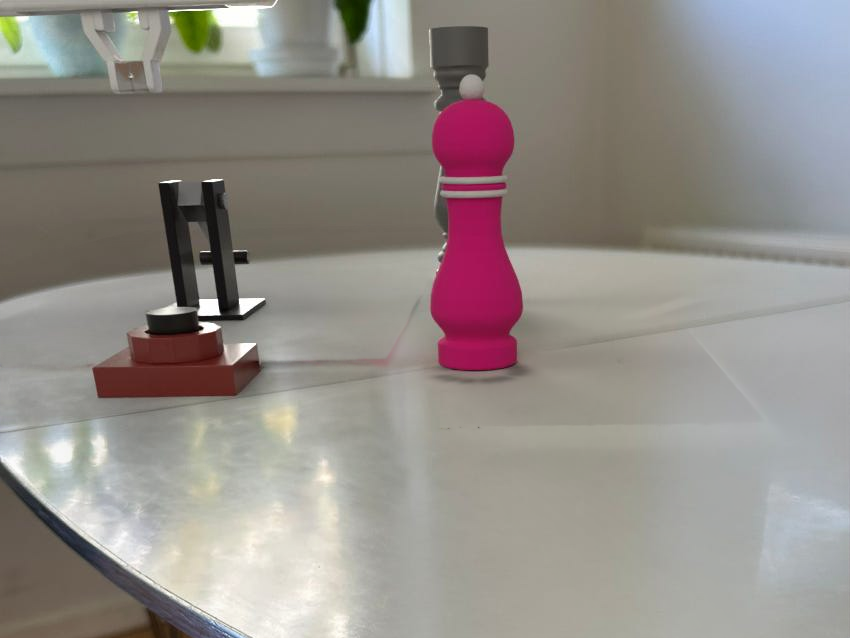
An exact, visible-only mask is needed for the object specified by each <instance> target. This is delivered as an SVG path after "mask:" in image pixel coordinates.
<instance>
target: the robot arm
mask: <svg viewBox="0 0 850 638" xmlns="http://www.w3.org/2000/svg"><path fill="white" fill-rule="evenodd" d="M277 1H278V0H0V18H11V17H13V18H15V17H39V16H40V17H42V16H64V15H65V16H68V15H69V16H71V15H80V21H81V25H82V27H81V28H82V31H83V34H84V35H85V36H86V37H87V39H88V40H89V42H90V43H91V45H92V46H93V47H94V49H95V50H96V52H97V53H98V55H99V56H100V57H101V59H102V60H103V62H104V63H106V67H107V72H108V79H109V84H110V89H111V92H112V93H113V94H118V95H123V94H124V95H125V94H126V95H127V94H154V93H156V94H158V93H162V92H163V80H162V74H161V67H160V62H162V59H163V57H164V54H165V51H166V48H167V45H168V42H169V40H170V37H171V34H172V26H171V18H170V12H181V11H211V10H237V9H242V10H243V9H267V8H268V9H269V8H273V7H274V6H275V4H277ZM124 13H127V14H128V13H137V18H138V24H139V27H140V29H142V30H144V31H147V32H148V34H147V36H146V40H145V43H144V47H143V50H142V54H141V57H140V60H129V61H127V60H124V58H123V56H122V55H121V54H120V51H119V50H118V49H117V47H116V45H115V44H114V43H113V41H112V40H111V38H110V36H109V34H115V33H116V25H115V19H114V14H124Z"/></svg>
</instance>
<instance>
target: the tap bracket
mask: <svg viewBox="0 0 850 638" xmlns="http://www.w3.org/2000/svg"><path fill="white" fill-rule="evenodd" d="M179 182H183V180H181V179H180V180H179V179H178V180H177V179H176V180H174V179H173V180H168V181H160V182H158V183H157V185H158V193H159V197H160V206H161V210H162V216H163V217H162V218H163V222H164V229H165V234H166V236H165V237H166V243H167V249H168V255H169V262H170V268H171V269H170V270H171V276H172V281H173V287H174V289H173V290H174V295H175V302H173V303H171V304H170V305H168V306H165V308H167V307H192V308H196V309H197V314H198V321H199V322H226V321H231V322H232V321H236V322H237V321H238V322H239V321H244V320H247V318H249V317H250V316H251V315H253V314H254V313H256V312H257V311H258V310H260V309H261V308H262V307H263V306H265V305H266V304H267V300H266V298H240V295H239V288H238V279H237V273H236V272H237V271H236V264H235V263H234V255H233V251H234V248H233V240H232V234H231V233H232V232H231V226H230V225H231V224H230V217H229V216H230V215H229V210H228V208H229V201H228V196H227V193H226V186H225V180H224V179H223V178H221V179H219V178H218V179H216V178H215V179H209V180H204V181H202V182H201V183H202V191H203V198H204V205H205V213H206V220H207V227H208V235H209V242H210V244H209V248H210V251H211V257H212V264H213V265H212V270H213V278H214V285H215V291H216V299H213V298H212V299H211V298H210V299H200V294H199V293H200V292H199V287H198V286H199V285H198V280H197V273H196V267H195V260H194V253H193V245H192V238H191V231H190V225H189V222H187V221H186V219H185V217H184V215H183V214H182V212H181V210H180V208H179V207H178V189H179ZM209 242H208V243H209Z"/></svg>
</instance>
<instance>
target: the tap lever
mask: <svg viewBox="0 0 850 638" xmlns="http://www.w3.org/2000/svg"><path fill="white" fill-rule="evenodd" d="M201 182H203V181H201V180H199V181H182V182H179V189H178V207H179V208H180V210H181V212H182V214H183V215H184V217H185V219H186V221H187V222H188V223H197V225H198V227H199V228H200V230H201V231H202V233H203V235H204V237H205V239H206V241H207V242H208V244H209V245H210V242H209V235H208V227H207V220H206V213H205V205H204V198H203V191H202V183H201ZM233 255H234V263H235V265H249V264H250V263H251V255H250V251H249V250H233ZM198 258H199V263H200V265H201V266H213V264H212V257H211V250H210V251H209V250H208V251H203V250H202V251H200V252H199V255H198Z"/></svg>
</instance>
